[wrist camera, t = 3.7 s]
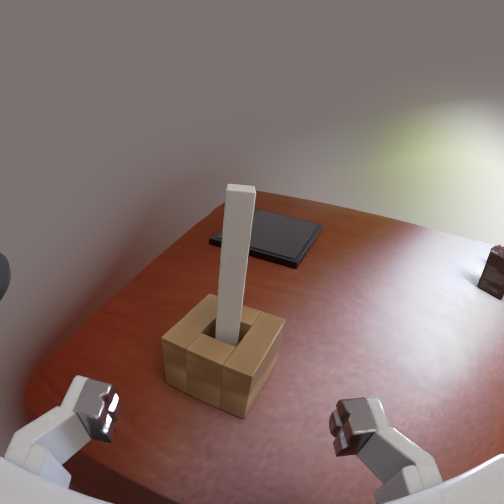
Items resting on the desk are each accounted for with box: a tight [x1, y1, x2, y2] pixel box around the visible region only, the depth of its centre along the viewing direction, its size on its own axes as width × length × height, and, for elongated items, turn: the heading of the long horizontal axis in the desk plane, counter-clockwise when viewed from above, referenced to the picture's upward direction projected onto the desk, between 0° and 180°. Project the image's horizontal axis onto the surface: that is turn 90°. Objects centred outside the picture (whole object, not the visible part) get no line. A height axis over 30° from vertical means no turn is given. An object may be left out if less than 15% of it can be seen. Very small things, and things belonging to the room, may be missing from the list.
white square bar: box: [215, 184, 256, 347], centre depth 20 cm, size 2×2×15 cm
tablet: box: [209, 209, 322, 269], centre depth 52 cm, size 20×14×1 cm
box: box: [478, 247, 504, 299], centre depth 40 cm, size 6×6×7 cm
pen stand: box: [161, 294, 286, 419], centre depth 22 cm, size 7×7×5 cm
